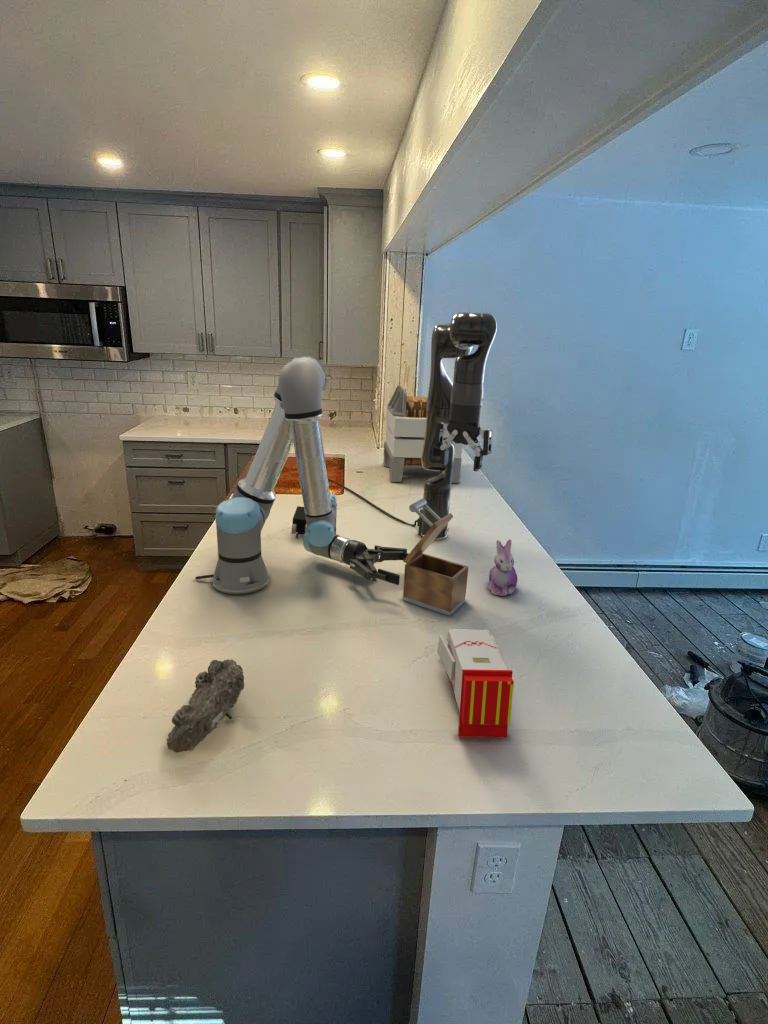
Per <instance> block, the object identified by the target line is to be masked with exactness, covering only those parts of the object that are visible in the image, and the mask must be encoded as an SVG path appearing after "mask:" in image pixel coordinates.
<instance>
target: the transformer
mask: <svg viewBox="0 0 768 1024" xmlns="http://www.w3.org/2000/svg"><path fill="white" fill-rule="evenodd" d="M407 394H408V393H407V390H406V389H404V388H403V387H402V385H399V384H398V385H397V386H396V388H395V390H394V392H393V394H392V395H391V398H390V400H389V402H388V404H387V405H386V413H385V414H386V415H385V423H386V428H385V438H384V442H383V466H384V467H388V468H389V475H388V476H389V477H388V478H389V480H390V482H391V483H402V482H403V475H404V469H405V466H406V467H407V466H411V467H412V466H413V467H415V466H416V467H417V466H418V467H422V462H421V457H422V449H423V443H424V436H425V429H426V413H427V399H428V396H415V395H414V396H413V395H412V396H411V395H407ZM449 436H450V434H449V432H448V430H447V429H446V431H444V436H443V443H444V442H445V440H446V439H447V438H448V437H449ZM452 445H453V446H454V449H455V457H454V464H453V471H452V480H451V484H455V483H456V484H459V483H461V472H462V461H463V460H462V453H463V444H462V443H455V442H454V443H452ZM442 472H443V471H439V473H440V474H441V473H442Z"/></svg>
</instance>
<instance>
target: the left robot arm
mask: <svg viewBox="0 0 768 1024" xmlns="http://www.w3.org/2000/svg"><path fill="white" fill-rule="evenodd" d="M326 385H327V373H326V370H325V368H324V366H323V364H321V363H320V361H318V360H317V359H315V358H313V357H311V356H308V355H307V356H306V355H299V356H296V357H294V358H292V359H290V361H288V362H287V363H286V364H285V365H284V366H283V367H282V369H281V371H280V373H279V375H278V384H277V386H276V389H275V392H274V394H273V398H274V400H275V406H274V409H273V411H272V413H271V416H270V418H269V421H268V423H267V426H266V428H265V430H264V432H263V436H262V438H261V440H260V443H259V445H258V447H257V450H256V452H255V455H254V457H253V460H252V461H251V464H250V466H249V469H248V471H247V474H246V476H245V477H244V478H242V479H239V480H238V482H237V484H236V487H235V488H234V491H233V494H232V496H231V498H228V499H227V500H223V501H221V502H220V503H219V504H218V505H217V507H216V509H215V516H214V519H215V520H214V521H215V526H216V543H217V554H218V555H217V557H218V558H217V562H216V565H215V568H214V572H213V574H205V575H198V576H195V580H197V581H198V580H204V579H212V584H213V588H215V590H216V591H218V592H220V593H223V594H227V595H235V596H236V595H238V596H239V595H248V594H253V593H255V592H259V591H260V590H262V589H264V588H265V587H267V586H268V584H269V582H270V580H269V579H270V577H269V571H268V568H267V567H266V563H265V561H264V559H263V556H262V531H263V528H264V525H265V523H266V521H267V520H268V518H269V516H270V513H271V510H272V508H273V505H274V502H275V500H276V498H277V494H276V492H275V487H276V485H277V483H278V481H279V479H280V476H281V473H282V471H283V469H284V467H285V464H286V462H287V461H288V458H289V455H290V452H291V450H292V448H293V450H294V455H295V460H296V467H297V472H298V478H299V485H300V491H301V496H302V503H303V507H304V510H305V518H306V524H307V529H306V533H305V535H303V538H302V547H303V548H304V550H306V551H307V552H309V553H312V554H313V555H314V556H315V555H316V556H320V557H324V558H327V559H330V560H332V561H336V562H338V563H340V564H345V565H347V566H349V569H351V570H354V571H355V572H356V573H358V574H359V575H360V576H361V577H362V578H363V579H365V580H366V581H368V582H369V581H372V582H377V579H378V580H381V581H383V582H387V583H389V584H393V585H396V586H399V585H400V579H401V575H400V574H398V573H394V572H391V571H389V570H386V569H382V568H378V569H377V568H376V566H375V564H377V563H383V562H384V561H402V562H403V563H405V562H404V559H405V558H406V557H407V556H408V555H409V552H408V548H403V547H391V546H382V545H377V544H375V545H374V547H373V548H368V547H367V545H366V544H365V543H364V542H362V541H359V540H356V539H353V538H349V537H345V536H343V535H339V534H337V511H338V509H337V508H338V503H337V502H338V501H337V497H336V495H335V494H333V493H331V491H330V484H329V480H328V479H329V478H328V472H327V464H326V457H325V456H326V455H325V449H324V443H323V436H322V429H321V421H320V419H321V418H322V417H323V408H322V407H323V406H322V397H323V392H324V390H325V388H326ZM304 536H305V537H304Z"/></svg>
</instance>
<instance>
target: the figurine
mask: <svg viewBox="0 0 768 1024" xmlns="http://www.w3.org/2000/svg"><path fill="white" fill-rule="evenodd" d="M495 544H496V554H495V555H496V556H495V558H494V566H492V568H490V570H489V573H488V581H487V582H488V583H487V588H488V589H489V591H491V593H492V594H493V595H495V596H500V597H505V596H508V595H512V594H513V593H514V592H515V590H516V587H517V584H518V574H517V571H516V568H515V567H514V565H515V559H514V556H513V553H512V544H513V543H512V539H510V538H509V539H508V540H507V541H506V543H505V544H504V546H503V544H502V542H501V541H500V540H496V542H495Z"/></svg>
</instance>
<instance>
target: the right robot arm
mask: <svg viewBox="0 0 768 1024" xmlns="http://www.w3.org/2000/svg"><path fill="white" fill-rule="evenodd" d="M497 331H498V323H497V319H496V318H495V316H494V315H493V314H492V313H487V312H468V311H467V312H463V311H462V312H457V313H455V314H454V315H453V316H452V318H451V321H450V323H444V324H443V323H439V324H436V325H435V326H434V327H433V329H432V334H431V341H430V342H431V344H430V345H431V346H430V347H431V348H430V371H429V372H430V374H429V383H428V390H427V391H428V392H427V397H428V399H427V413H426V429H425V436H424V443H423V449H422V457H421V462H422V466H421V467H422V468H423V470H426V471H435V472H436V471H437V472H440V471H443V472H442V473H441V472H440V474H438V475H435V476H432V477H429V478H427V479H425V480H424V482H423V493H422V496H423V497H422V499H425V500H426V502H427V504H426V505H427V506H428V507H429V508H431V509H432V510H433V511H434V512H435V513H436V514H437V515H438V516H439V517H440V518H441V519H442V518H443V517H445V516H446V515H448V514H450V504H451V494H452V493H451V491H452V483H451V480H452V471H453V464H454V457H455V449H454V446H453V445H452V443H454V442H455V443H462V445H464V446H469V447H470V449H471V450H472V452H473V453H474V454H475V456H474V458H473V469H472V471H473V472H479V471H480V470H481V469H482V467H483V459H484V456H488V455H490V454H491V453H492V451H493V450H492V447H493V428H488V429H483V428H481V421H482V411H483V410H482V409H483V402H484V379H485V371H486V364H487V360H488V356H489V353H490V350H491V347H492V345H493V343H494V340H495V337H496V334H497ZM474 346H477V348H476V349H475V351H474V352H473V353H471V351H472V349H473V347H474ZM443 359H455V360H454V366H453V369H454V370H453V381H451V378H450V377H449V375H448V374H447V372H446V370H445V367H444V363H443ZM446 429H447V430H448V432H449V434H450V436H449V437H448V438H447V439H446V440H445V442H444V443H443V436H444V431H446ZM479 436H481V438H482V439H483V441H482V442H483V443H482V444H481V442H480V440H479V438H478V437H479ZM328 482H331V483H333V484H335V485H337V486H339V487H341V488H343V489H345V490H347V491H349V492H350V493H352V494H353V495H355V496H357V497H358V498H360V499H362V500H363V501H365V502H366V503H367V504H369V505H371V506H372V507H374V508H375V509H377V510H378V511H380V512H381V513H383V514H385V515H387V516H388V517H390V518H392V519H394V520H395V521H398V522H400V523H402V524H404V525H408V526H411V527H416V526H417V527H418V530H417V535H418V536H420V538H422V537H423V536H424V535H425V534H426V532H427V531H428V530H429V529H430V526H429V525H428V524H427V523H426V522H425V521H424V520H423V519H422V518H421V517H420V516H419V515H418V518H417V519H416V520H415V521H414V523H413V524H411V523H408V522H407V521H404V520H402V519H400V518H398V517H396V516H394V515H392V514H391V513H389V512H387V511H385V510H384V509H382V508H380V507H379V506H377V505H376V504H374V503H372V502H371V501H369V500H368V499H366V498H365V497H364V496H362V495H360V494H358V493H357V492H356V491H353V490H352V489H350V488H349V487H347V486H345V485H343V484H341V483H339V482H338V481H337V482H336V481H334V480H333V479H330V478H328ZM419 511H420V512H421V513H422V514H423V515H424V516H425V517H426V518H427V519H428V520H429V521H430V522H431V523H432V524H434V523H435V522H437V521H438V520H437V519H436V518H435V517H434V516H433V515H432V514H431V513H430V512H429V511H428V510H427V509H426V508H425V507H423V508H421V509H419ZM448 525H449V523H448V524H447V525H446V526H445V527H444V528H443V530H442V531H441V532H440V533H439V534H438V536H437V537H436V538H435V539H434V540H433V542H440V541H444V540H446V539H447V538H448V533H449V532H450V531H449V530H450V527H448Z"/></svg>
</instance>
